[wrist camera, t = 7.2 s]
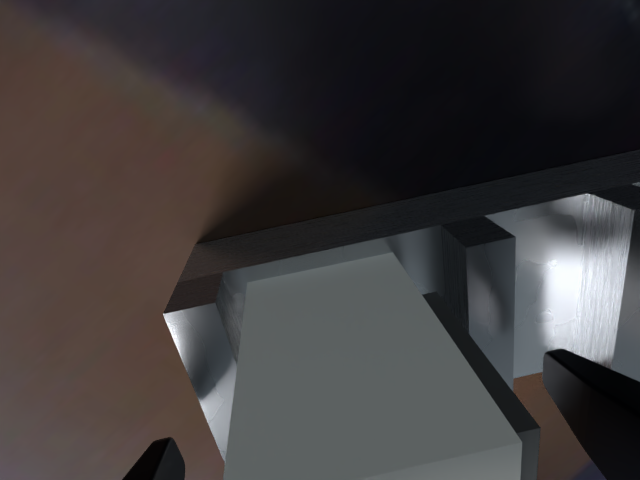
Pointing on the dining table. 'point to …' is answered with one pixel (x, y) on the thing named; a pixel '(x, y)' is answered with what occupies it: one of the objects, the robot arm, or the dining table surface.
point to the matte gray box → (368, 385)
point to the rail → (449, 271)
